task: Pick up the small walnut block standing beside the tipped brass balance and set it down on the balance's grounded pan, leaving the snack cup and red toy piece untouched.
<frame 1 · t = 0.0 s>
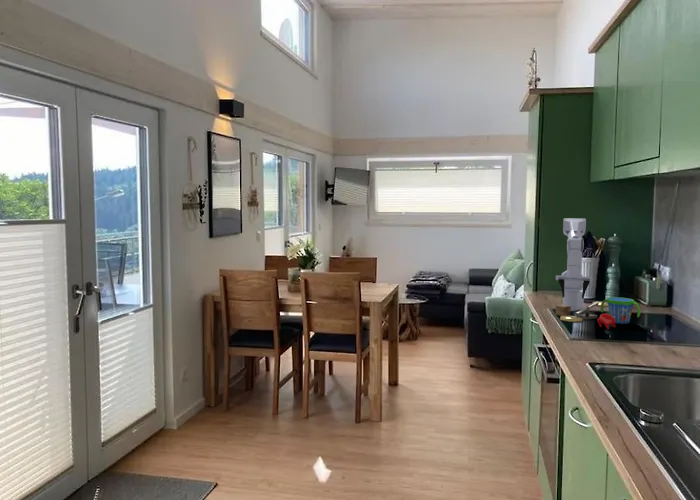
hand: (573, 297, 238), 11 cm above the worktop, tool pointing down, fingers open, 7 cm apart
red toy piece: (606, 328, 229), on the worktop
snack cup: (619, 323, 239), on the worktop
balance: (587, 317, 249), on the worktop
block: (562, 315, 254), on the worktop
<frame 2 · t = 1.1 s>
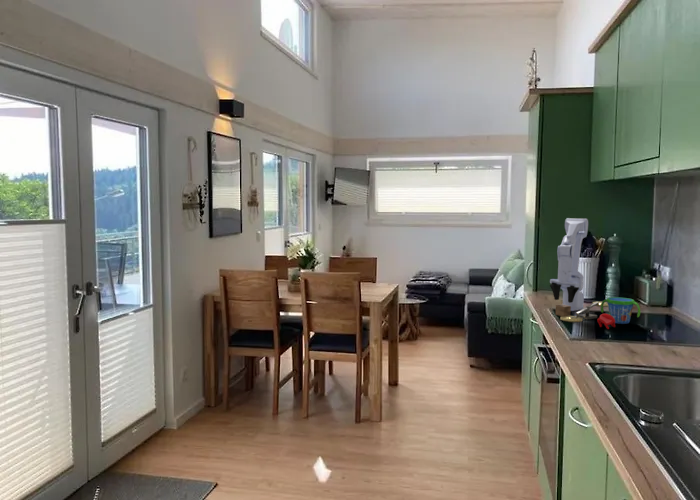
hand: (563, 301, 253), 7 cm above the worktop, tool pointing down, fingers open, 7 cm apart
nothing on the worktop moved.
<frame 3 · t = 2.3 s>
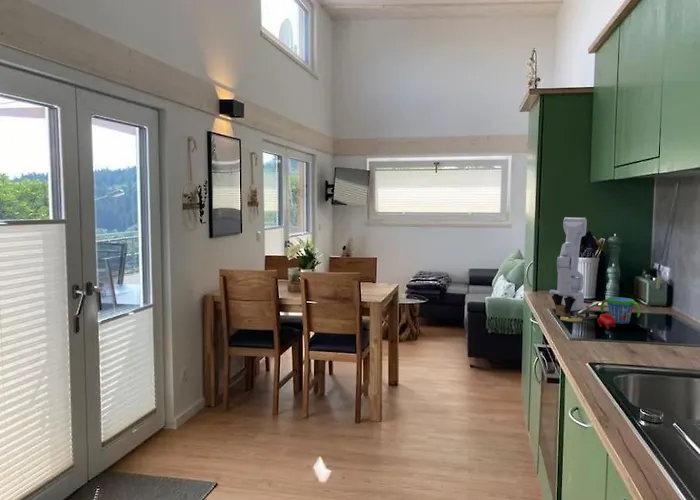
hand: (563, 312, 254), 1 cm above the worktop, tool pointing down, fingers closed on block, 4 cm apart
block: (562, 315, 254), on the worktop, touching gripper
everything else where it was.
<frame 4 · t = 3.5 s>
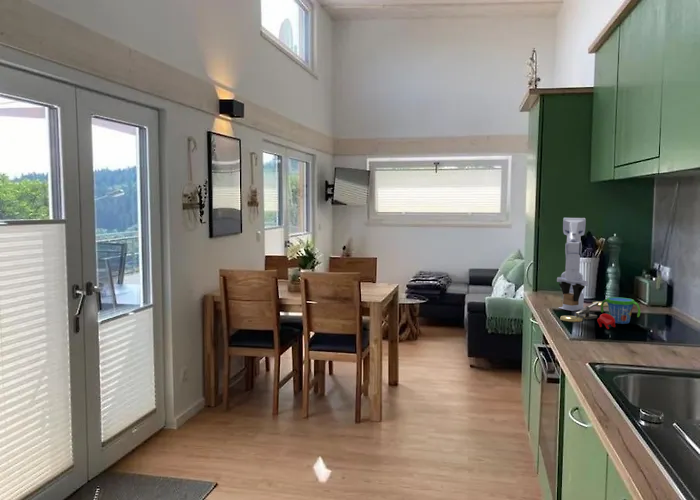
hand: (571, 300, 244), 9 cm above the worktop, tool pointing down, fingers closed on block, 4 cm apart
block: (570, 304, 244), point 7 cm above the worktop, touching gripper
everything else where it was.
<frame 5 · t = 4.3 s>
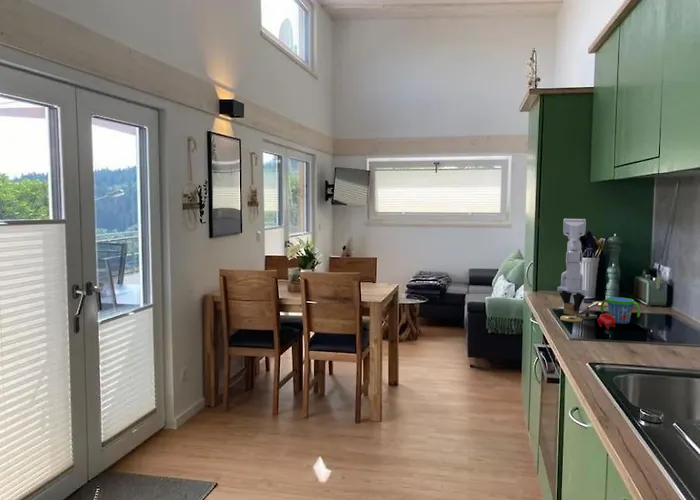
hand: (571, 309, 243), 5 cm above the worktop, tool pointing down, fingers closed on block, 4 cm apart
block: (571, 313, 243), point 3 cm above the worktop, touching gripper
everything else where it was.
when the fingers open (3 cm above the worktop, at t = 5.0 s): block stays where it is, resting on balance.
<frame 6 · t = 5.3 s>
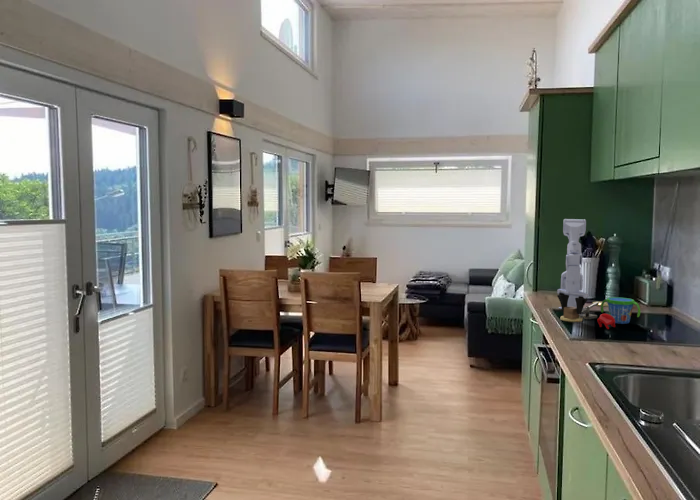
hand: (571, 312, 243), 3 cm above the worktop, tool pointing down, fingers open, 7 cm apart
block: (571, 317, 243), point 1 cm above the worktop, touching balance
everything else where it was.
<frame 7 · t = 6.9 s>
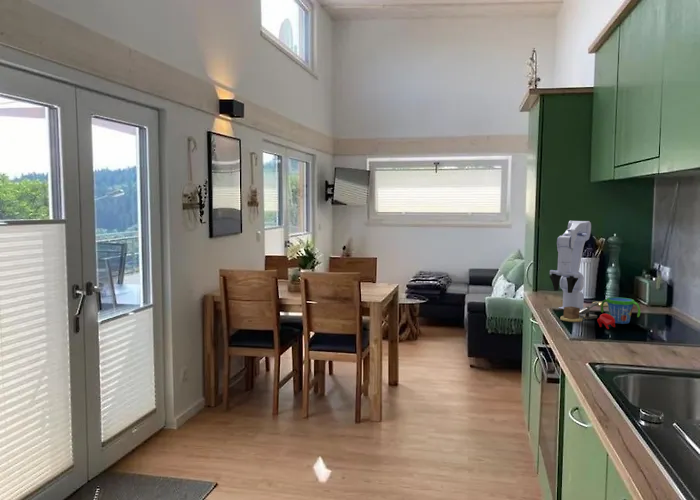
hand: (563, 291, 255), 10 cm above the worktop, tool pointing down, fingers open, 7 cm apart
nothing on the worktop moved.
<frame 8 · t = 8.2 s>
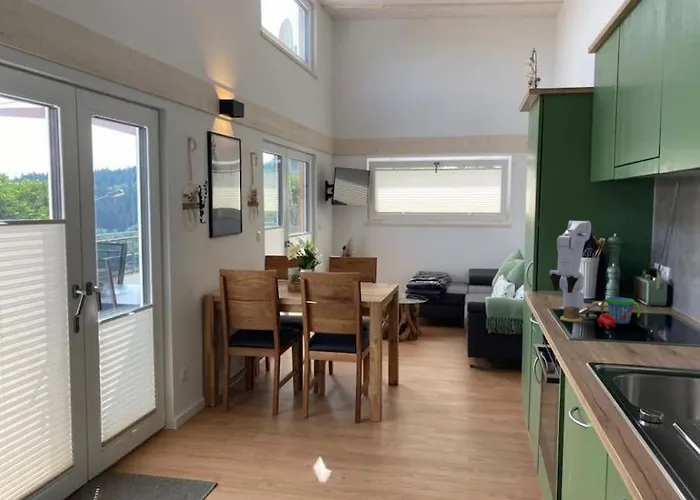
hand: (562, 291, 255), 10 cm above the worktop, tool pointing down, fingers open, 7 cm apart
nothing on the worktop moved.
at the end: block 0.1 cm from the target spot on the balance, point 1.0 cm above the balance's base; block tilted 0°; the gripper is holding nothing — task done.
